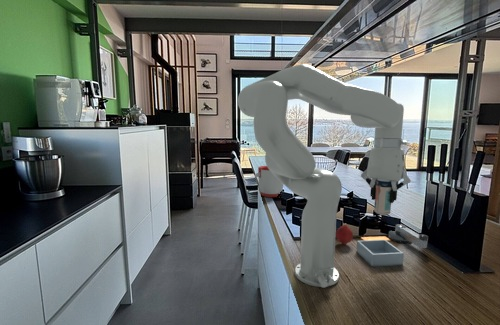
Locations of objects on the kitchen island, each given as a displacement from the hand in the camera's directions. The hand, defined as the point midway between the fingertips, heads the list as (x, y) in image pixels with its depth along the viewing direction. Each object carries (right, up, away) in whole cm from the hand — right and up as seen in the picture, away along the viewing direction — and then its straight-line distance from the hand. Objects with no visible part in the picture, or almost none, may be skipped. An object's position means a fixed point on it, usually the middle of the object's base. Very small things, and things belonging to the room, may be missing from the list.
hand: (382, 199), depth 91 cm
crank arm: (+16, -16, +13) cm, 26 cm away
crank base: (+10, -17, +18) cm, 27 cm away
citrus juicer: (-31, -8, +80) cm, 86 cm away
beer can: (0, -5, +1) cm, 5 cm away
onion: (-8, -18, +13) cm, 24 cm away
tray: (0, -20, +3) cm, 20 cm away
